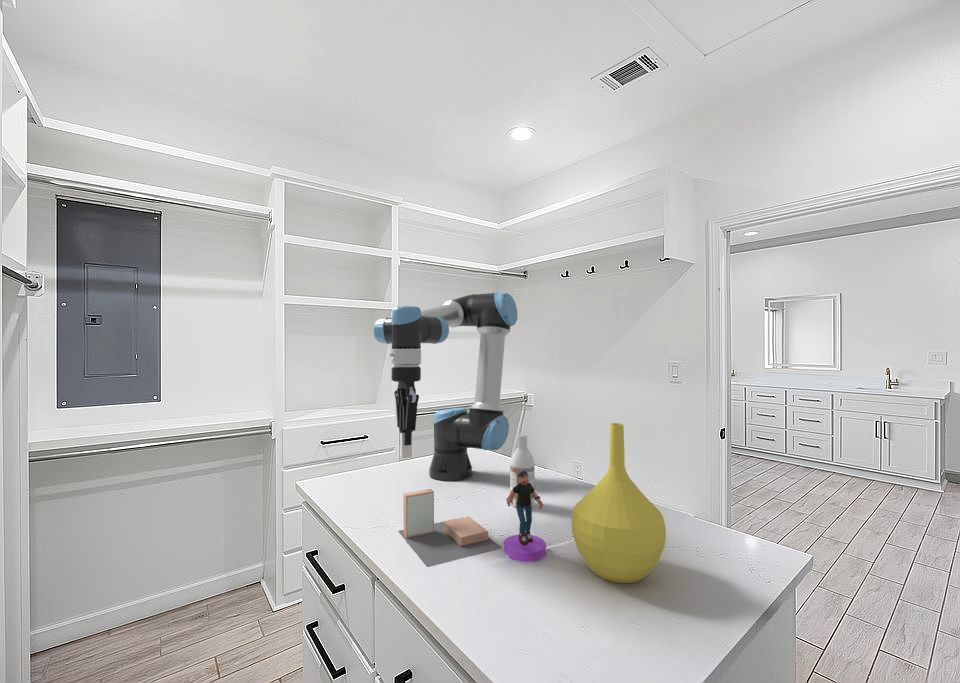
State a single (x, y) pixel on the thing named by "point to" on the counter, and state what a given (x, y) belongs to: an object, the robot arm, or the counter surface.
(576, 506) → the vase
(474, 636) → the counter surface
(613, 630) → the counter surface
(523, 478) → the figurine
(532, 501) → the bath foam
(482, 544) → the mat
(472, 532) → the tile
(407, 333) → the robot arm
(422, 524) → the tile
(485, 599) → the counter surface
